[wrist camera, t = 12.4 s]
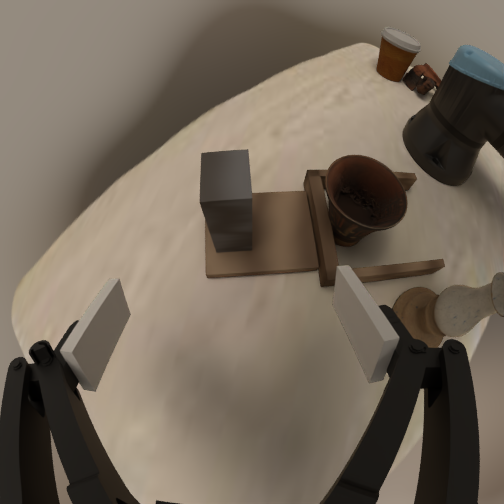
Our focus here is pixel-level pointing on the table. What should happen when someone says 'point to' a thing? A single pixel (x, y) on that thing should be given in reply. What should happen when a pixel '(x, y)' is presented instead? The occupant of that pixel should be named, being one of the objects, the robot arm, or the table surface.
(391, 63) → the disposable coffee cup
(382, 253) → the table surface
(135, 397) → the table surface
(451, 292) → the candle holder
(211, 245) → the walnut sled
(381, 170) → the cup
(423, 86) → the dark brown arched piece
